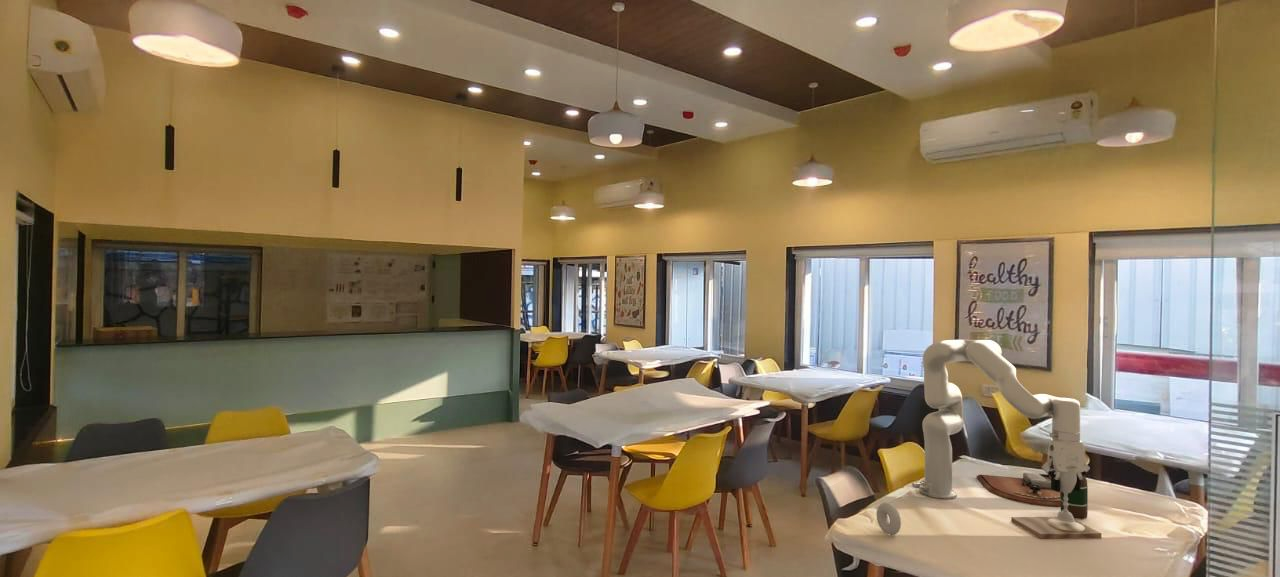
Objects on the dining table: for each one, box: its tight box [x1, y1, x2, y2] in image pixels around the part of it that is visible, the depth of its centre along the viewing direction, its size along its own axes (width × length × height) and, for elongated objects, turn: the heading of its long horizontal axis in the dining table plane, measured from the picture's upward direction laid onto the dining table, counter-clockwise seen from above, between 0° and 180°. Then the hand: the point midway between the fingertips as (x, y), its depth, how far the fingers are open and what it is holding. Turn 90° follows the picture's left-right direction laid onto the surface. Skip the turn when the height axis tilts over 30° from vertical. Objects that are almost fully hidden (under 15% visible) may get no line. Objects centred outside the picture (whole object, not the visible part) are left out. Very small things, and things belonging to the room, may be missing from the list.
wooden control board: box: [976, 472, 1060, 508], centre depth 231 cm, size 31×5×30 cm
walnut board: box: [1010, 516, 1102, 540], centre depth 195 cm, size 20×14×2 cm
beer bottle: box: [1059, 475, 1089, 520], centre depth 208 cm, size 8×8×24 cm
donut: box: [876, 501, 902, 536], centre depth 191 cm, size 10×4×10 cm, turn 14°
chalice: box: [1055, 467, 1078, 522], centre depth 194 cm, size 7×7×18 cm
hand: (1065, 490), depth 194 cm, fingers closed on chalice, 6 cm apart
